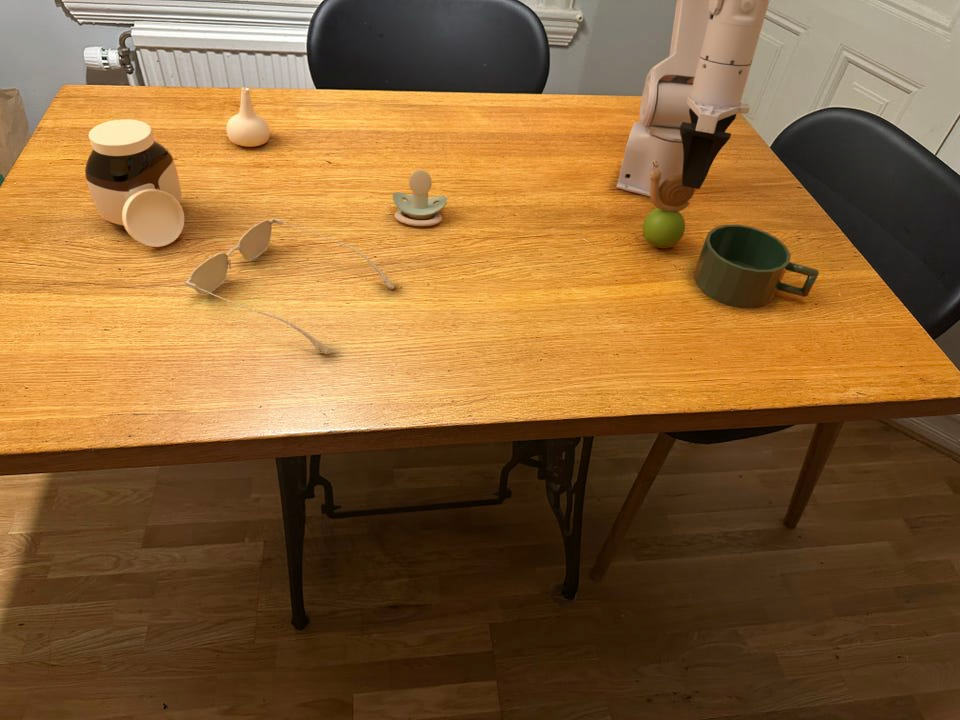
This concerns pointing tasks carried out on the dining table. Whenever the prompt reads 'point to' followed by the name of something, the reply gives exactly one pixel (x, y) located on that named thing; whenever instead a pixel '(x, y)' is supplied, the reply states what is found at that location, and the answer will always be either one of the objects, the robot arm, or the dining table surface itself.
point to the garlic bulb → (247, 125)
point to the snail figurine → (666, 210)
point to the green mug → (747, 267)
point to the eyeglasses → (250, 248)
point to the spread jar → (134, 182)
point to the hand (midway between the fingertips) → (694, 177)
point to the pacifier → (419, 202)
